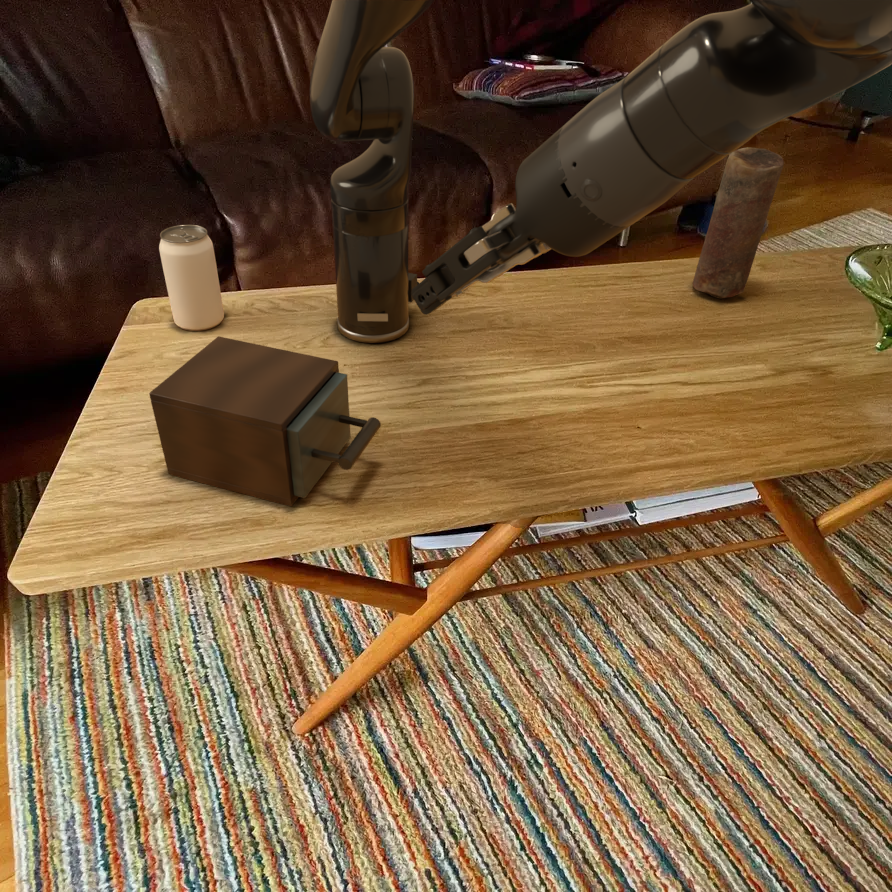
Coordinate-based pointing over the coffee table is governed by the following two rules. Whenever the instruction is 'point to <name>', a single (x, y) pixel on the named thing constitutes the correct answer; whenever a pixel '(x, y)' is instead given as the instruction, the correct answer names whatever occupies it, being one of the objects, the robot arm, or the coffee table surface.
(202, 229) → the can
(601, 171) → the robot arm
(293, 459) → the drawer
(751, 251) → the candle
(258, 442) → the cabinet
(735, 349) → the coffee table surface
